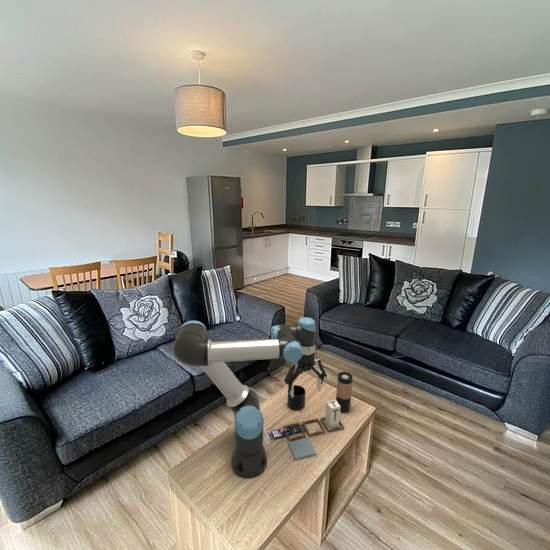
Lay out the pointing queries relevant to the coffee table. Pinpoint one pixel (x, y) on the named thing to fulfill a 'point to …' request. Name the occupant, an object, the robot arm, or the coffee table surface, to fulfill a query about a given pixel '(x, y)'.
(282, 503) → the coffee table surface
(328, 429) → the wooden frame right
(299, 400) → the mug
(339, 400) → the travel mug
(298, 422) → the wooden picture frame
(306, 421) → the wooden window frame
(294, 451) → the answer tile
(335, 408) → the letter block
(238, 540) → the coffee table surface
